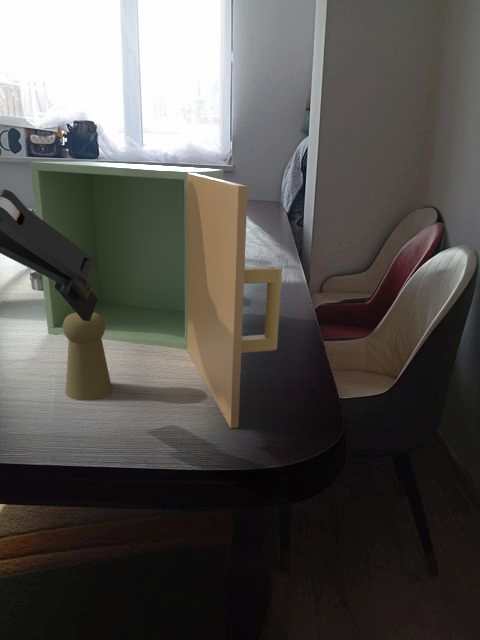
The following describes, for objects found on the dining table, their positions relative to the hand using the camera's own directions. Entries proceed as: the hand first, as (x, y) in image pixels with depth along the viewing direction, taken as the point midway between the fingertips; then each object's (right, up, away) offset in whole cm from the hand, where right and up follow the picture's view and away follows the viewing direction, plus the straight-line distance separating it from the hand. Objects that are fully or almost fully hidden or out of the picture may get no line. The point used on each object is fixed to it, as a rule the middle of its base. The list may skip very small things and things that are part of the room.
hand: (31, 303), depth 55 cm
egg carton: (-24, +10, +66) cm, 71 cm away
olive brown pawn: (+1, -11, +15) cm, 18 cm away
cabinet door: (+20, -10, +20) cm, 29 cm away
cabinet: (+1, 0, +42) cm, 42 cm away
